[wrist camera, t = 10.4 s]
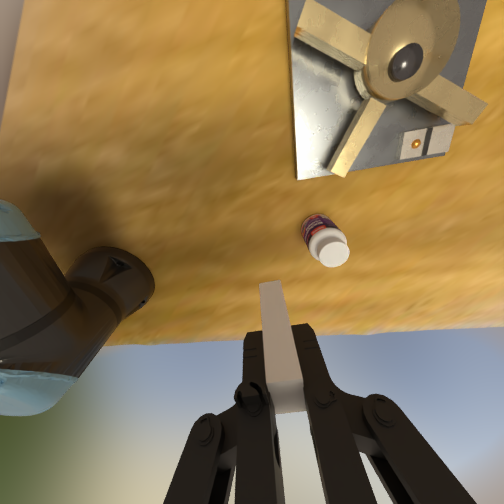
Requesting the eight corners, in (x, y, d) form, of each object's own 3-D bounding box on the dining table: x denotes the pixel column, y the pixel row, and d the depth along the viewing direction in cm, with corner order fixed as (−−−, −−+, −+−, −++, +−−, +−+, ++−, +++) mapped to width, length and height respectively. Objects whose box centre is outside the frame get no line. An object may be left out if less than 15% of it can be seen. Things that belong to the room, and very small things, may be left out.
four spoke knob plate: (393, 200, 29) (415, 209, 25) (257, 139, 26) (257, 138, 22) (550, -9, 19) (625, -49, 15) (359, -154, 16) (393, -253, 12)
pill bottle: (311, 208, 33) (330, 229, 24) (337, 221, 34) (364, 247, 25) (294, 234, 35) (306, 262, 27) (319, 246, 36) (337, 277, 28)
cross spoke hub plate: (295, 178, 31) (299, 181, 28) (284, -14, 21) (289, -39, 18) (433, 154, 29) (453, 155, 26) (488, -70, 19) (530, -109, 16)
